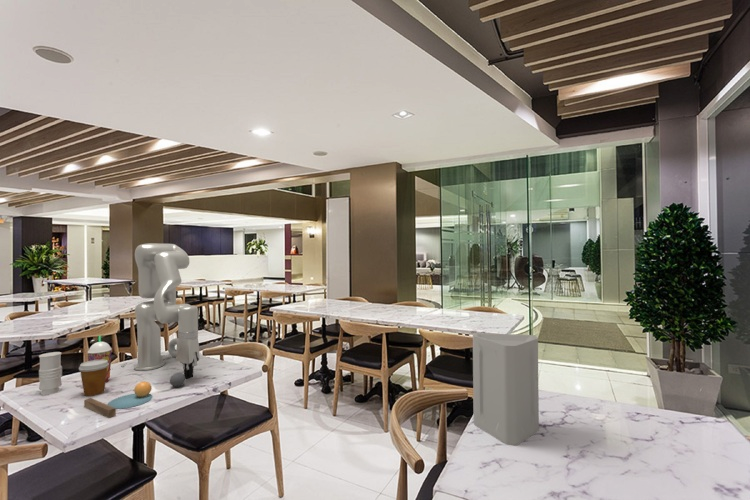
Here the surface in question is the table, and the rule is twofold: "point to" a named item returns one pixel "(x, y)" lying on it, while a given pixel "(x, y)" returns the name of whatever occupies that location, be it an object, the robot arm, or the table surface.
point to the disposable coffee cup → (93, 376)
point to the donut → (172, 347)
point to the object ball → (142, 389)
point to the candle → (50, 373)
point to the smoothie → (101, 354)
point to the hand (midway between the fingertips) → (188, 378)
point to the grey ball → (177, 379)
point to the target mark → (129, 401)
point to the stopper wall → (100, 407)
